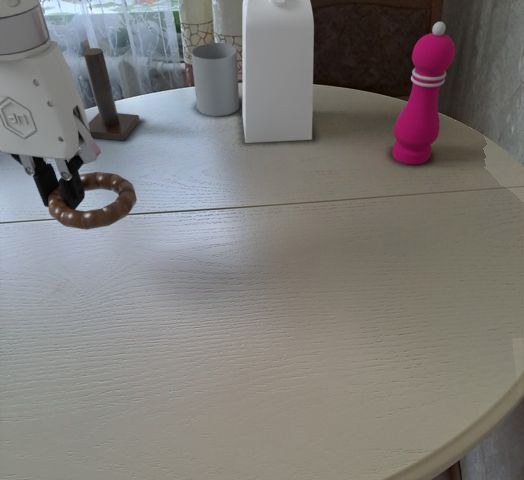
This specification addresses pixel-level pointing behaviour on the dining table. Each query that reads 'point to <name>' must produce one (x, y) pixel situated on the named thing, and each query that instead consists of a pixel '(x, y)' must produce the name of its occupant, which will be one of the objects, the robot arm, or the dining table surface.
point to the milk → (277, 70)
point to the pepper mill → (423, 98)
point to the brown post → (106, 102)
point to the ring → (96, 216)
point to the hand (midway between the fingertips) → (65, 201)
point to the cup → (216, 78)
